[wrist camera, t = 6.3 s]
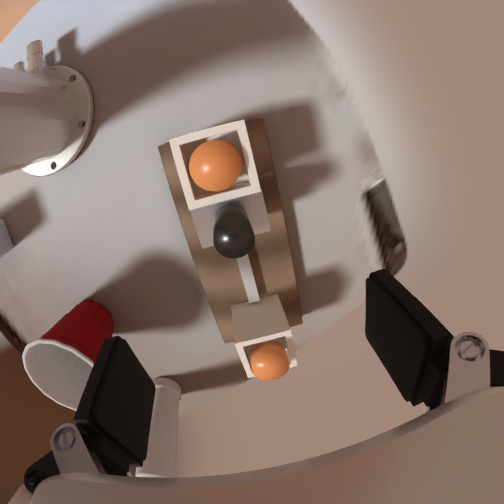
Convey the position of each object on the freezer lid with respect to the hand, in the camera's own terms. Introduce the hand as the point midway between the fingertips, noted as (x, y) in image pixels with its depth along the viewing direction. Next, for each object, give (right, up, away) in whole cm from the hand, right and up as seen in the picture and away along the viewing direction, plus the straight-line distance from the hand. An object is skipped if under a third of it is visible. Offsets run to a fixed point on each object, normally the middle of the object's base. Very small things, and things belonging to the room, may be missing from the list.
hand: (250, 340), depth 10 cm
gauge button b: (+2, -7, +17) cm, 19 cm away
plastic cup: (-21, -5, +22) cm, 31 cm away
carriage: (-2, +7, +16) cm, 17 cm away
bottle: (-13, -18, +29) cm, 36 cm away
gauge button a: (-3, +10, +10) cm, 15 cm away
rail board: (-1, +4, +20) cm, 21 cm away
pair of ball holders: (-1, +4, +20) cm, 21 cm away
